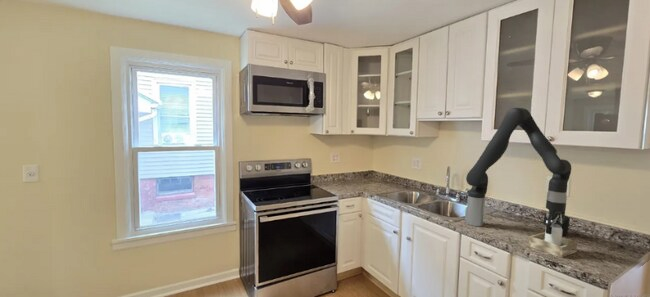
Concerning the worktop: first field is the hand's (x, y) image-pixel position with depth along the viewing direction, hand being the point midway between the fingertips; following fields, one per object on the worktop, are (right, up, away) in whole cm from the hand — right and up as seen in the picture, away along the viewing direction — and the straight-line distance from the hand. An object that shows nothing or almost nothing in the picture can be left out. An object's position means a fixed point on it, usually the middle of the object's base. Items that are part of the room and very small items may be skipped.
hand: (553, 232), depth 140 cm
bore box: (0, -8, +1) cm, 8 cm away
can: (0, -9, +1) cm, 9 cm away
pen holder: (+20, -7, +22) cm, 30 cm away
